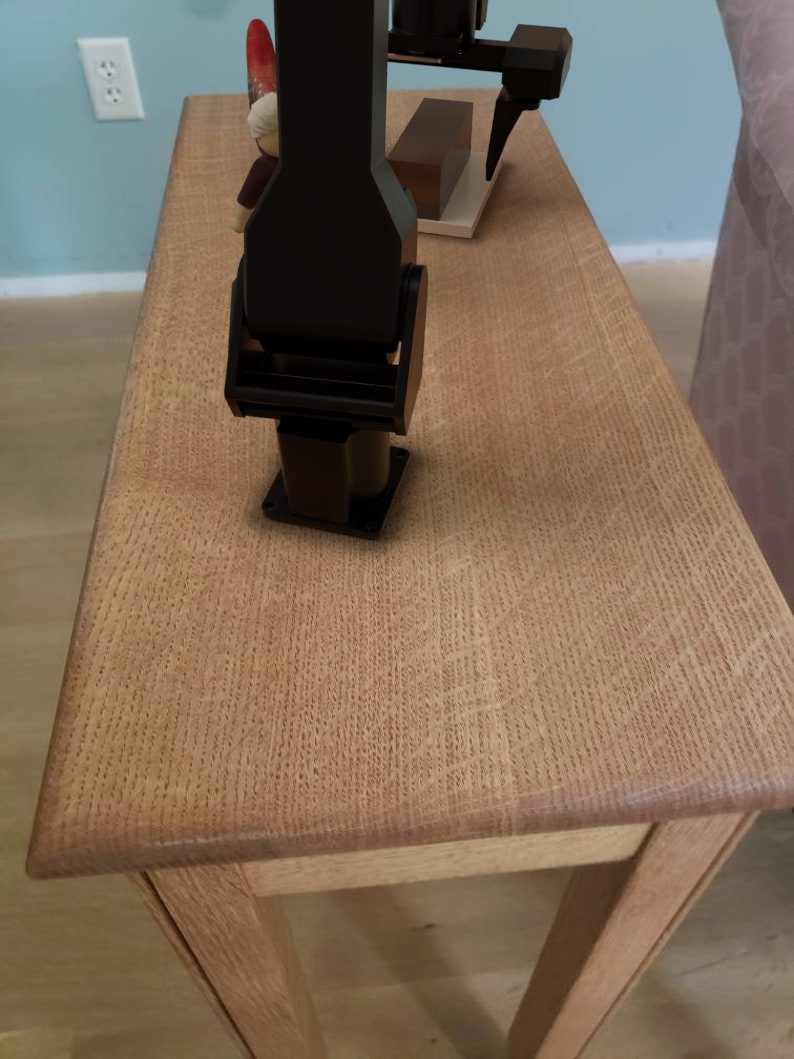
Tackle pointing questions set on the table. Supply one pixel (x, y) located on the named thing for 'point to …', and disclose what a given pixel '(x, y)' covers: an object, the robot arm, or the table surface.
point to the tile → (464, 200)
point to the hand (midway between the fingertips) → (430, 172)
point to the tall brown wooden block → (433, 153)
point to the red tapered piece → (260, 64)
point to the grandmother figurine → (262, 169)
